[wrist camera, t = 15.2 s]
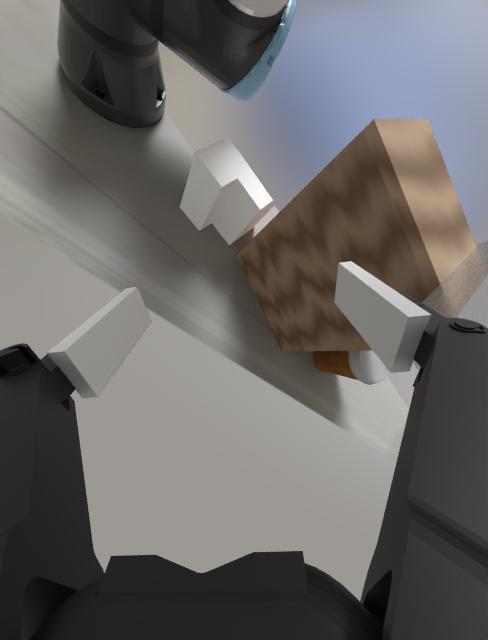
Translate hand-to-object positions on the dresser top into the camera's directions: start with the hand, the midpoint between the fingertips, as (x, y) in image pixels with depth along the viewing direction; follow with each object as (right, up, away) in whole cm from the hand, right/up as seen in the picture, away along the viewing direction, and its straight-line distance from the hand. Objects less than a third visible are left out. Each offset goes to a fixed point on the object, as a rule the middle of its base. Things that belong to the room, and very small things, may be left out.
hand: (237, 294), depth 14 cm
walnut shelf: (+8, +4, +32) cm, 33 cm away
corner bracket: (-4, +19, +28) cm, 34 cm away
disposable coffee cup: (+19, -10, +35) cm, 42 cm away
